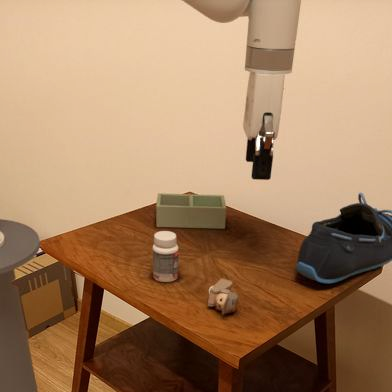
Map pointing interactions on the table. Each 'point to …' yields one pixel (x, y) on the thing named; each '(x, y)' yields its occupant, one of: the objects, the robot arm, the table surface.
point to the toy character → (223, 296)
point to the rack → (190, 211)
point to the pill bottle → (165, 256)
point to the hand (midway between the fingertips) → (257, 169)
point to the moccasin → (347, 244)
